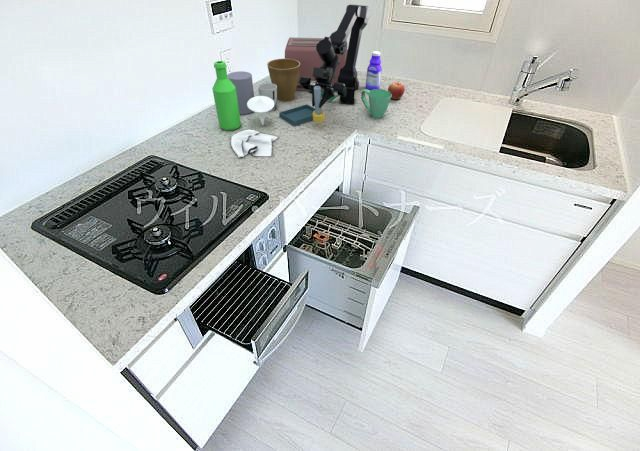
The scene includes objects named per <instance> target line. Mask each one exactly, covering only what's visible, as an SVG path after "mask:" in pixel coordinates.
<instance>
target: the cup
mask: <svg viewBox="0 0 640 451" xmlns="http://www.w3.org/2000/svg"><path fill="white" fill-rule="evenodd" d="M257 89H258V94H259V95H258V96H266V97H269V98H271V99H272V100H273V101H274V107H273V108H272V109H271V110H269V111H268V112H273V111H274V110H276V106H277V101H278V97H277V85H275V84H272V82H267V83H266V82H265V83H261V84H258V86H257Z"/></svg>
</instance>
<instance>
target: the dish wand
mask: <svg viewBox="0 0 640 451" xmlns="http://www.w3.org/2000/svg"><path fill="white" fill-rule="evenodd" d="M314 99H315V106H314V108H315V110H314V111H313V120H312V121H313V122H314V123H316V124H319V123H323V122H325V119H326V116H325V111H324V110H323V109H322V107H323V106H322V107H321V108H319V104H320V101H321V99H322V96H321V87H320V86H315V87H314Z"/></svg>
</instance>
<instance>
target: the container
mask: <svg viewBox="0 0 640 451" xmlns="http://www.w3.org/2000/svg"><path fill="white" fill-rule="evenodd" d="M227 77H228V79H229V80H230V81H231V82H232V83H233V85H234V86H235V87H236V94H237V100H238V107H239V114H240V115H250V114H252V113H253V112H254V111H252V110H250V109H249V108H248V106H247V102H248V101H249V100H250V99H251V98H253V97H255V92H254V84H253V83H254V82H253V75H252V73H251V72H248V71H243V70H241V71H240V70H239V71H232V72H230V73H227ZM254 113H255V112H254Z"/></svg>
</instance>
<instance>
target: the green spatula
mask: <svg viewBox="0 0 640 451" xmlns="http://www.w3.org/2000/svg"><path fill="white" fill-rule="evenodd" d="M308 92H309V93H312V91H311V90H309V91H308ZM323 93H324V91H322V90H321V97H322V96H323ZM334 95H335V96H334V97H331V98H330V99H329V100H328V101H329V102H332V101H335V99H337V98H338V97H339V95H338V94H334Z"/></svg>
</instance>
